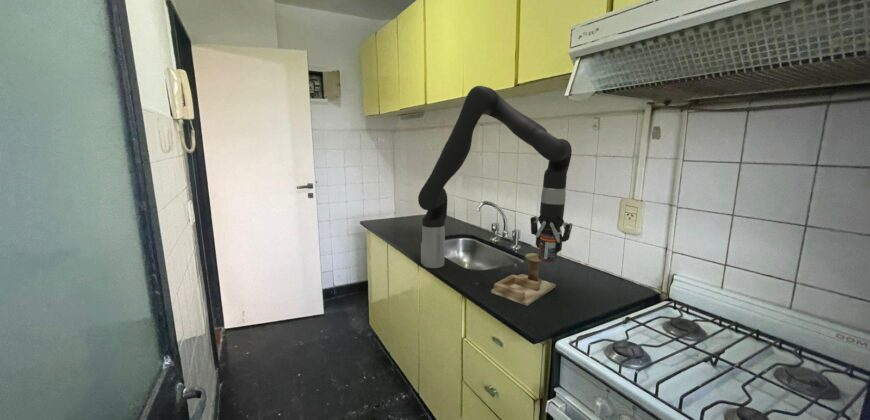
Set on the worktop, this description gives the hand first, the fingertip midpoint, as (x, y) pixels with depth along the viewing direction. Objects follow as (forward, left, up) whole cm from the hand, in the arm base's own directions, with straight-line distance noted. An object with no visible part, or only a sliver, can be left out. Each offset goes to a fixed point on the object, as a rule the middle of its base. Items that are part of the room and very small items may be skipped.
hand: (548, 249), depth 119 cm
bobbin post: (-6, +3, -16) cm, 17 cm away
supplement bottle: (0, 0, -4) cm, 4 cm away
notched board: (-6, -3, -16) cm, 17 cm away
